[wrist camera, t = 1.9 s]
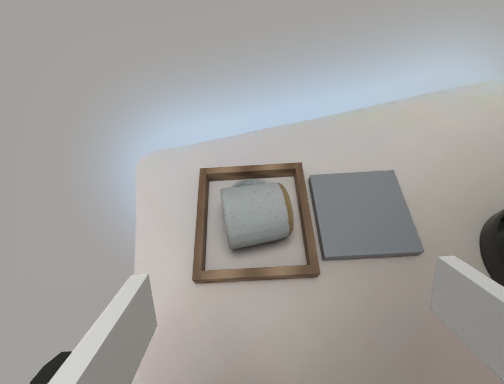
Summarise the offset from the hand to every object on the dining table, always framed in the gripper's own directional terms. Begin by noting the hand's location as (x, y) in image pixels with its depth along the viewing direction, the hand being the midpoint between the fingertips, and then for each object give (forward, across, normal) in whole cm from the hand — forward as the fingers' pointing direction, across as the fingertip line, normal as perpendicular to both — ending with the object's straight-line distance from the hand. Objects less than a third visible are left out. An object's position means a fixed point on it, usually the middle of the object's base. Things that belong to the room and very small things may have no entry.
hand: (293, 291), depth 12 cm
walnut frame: (+24, -2, -5) cm, 25 cm away
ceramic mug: (+25, -2, -5) cm, 25 cm away
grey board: (+24, +13, -5) cm, 28 cm away
